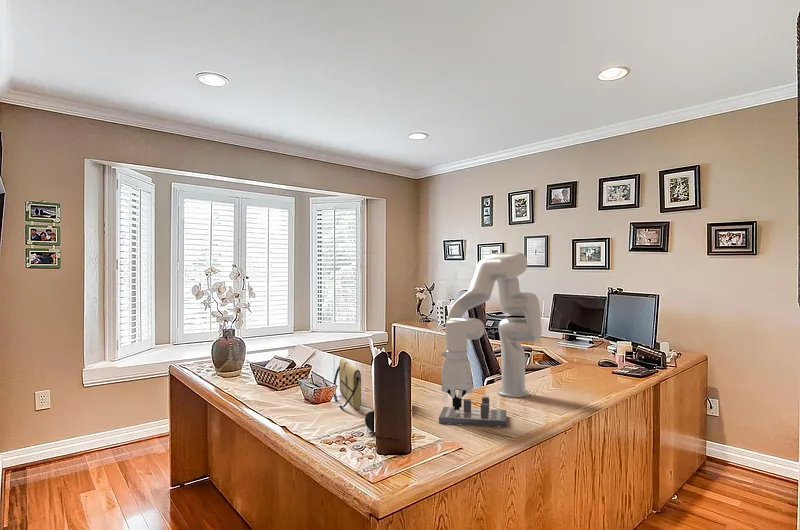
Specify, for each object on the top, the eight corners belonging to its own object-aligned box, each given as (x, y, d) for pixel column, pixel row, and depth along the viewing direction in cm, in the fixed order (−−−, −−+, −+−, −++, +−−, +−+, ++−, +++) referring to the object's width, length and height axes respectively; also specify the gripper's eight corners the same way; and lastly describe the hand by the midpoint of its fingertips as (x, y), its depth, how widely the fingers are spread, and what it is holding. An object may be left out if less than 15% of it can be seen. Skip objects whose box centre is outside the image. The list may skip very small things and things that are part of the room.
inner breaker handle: (482, 407, 164) (482, 396, 164) (489, 408, 164) (489, 396, 164) (482, 409, 162) (481, 398, 162) (489, 410, 161) (488, 398, 162)
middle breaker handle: (464, 410, 161) (464, 398, 161) (471, 410, 161) (471, 399, 161) (463, 412, 159) (463, 400, 159) (470, 412, 158) (470, 400, 158)
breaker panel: (443, 412, 168) (443, 406, 168) (506, 415, 163) (506, 409, 163) (438, 423, 155) (438, 416, 155) (506, 427, 150) (506, 420, 151)
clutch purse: (329, 394, 196) (329, 358, 197) (345, 393, 198) (345, 357, 199) (344, 413, 168) (344, 371, 169) (362, 411, 170) (362, 370, 171)
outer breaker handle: (481, 415, 155) (481, 403, 155) (488, 415, 155) (488, 403, 155) (480, 417, 153) (480, 404, 153) (488, 417, 153) (488, 405, 153)
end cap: (382, 423, 156) (382, 402, 157) (400, 426, 153) (400, 405, 153) (364, 431, 148) (364, 410, 148) (383, 435, 144) (382, 413, 144)
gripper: (433, 356, 159) (433, 411, 159) (477, 358, 156) (478, 413, 155) (436, 353, 166) (437, 405, 166) (479, 354, 163) (479, 407, 162)
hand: (457, 409), depth 161 cm, fingers closed
